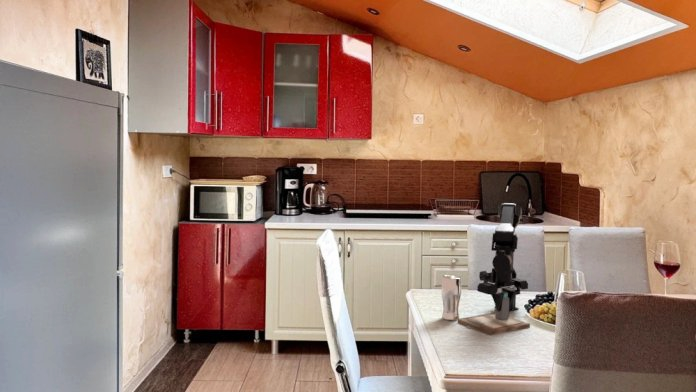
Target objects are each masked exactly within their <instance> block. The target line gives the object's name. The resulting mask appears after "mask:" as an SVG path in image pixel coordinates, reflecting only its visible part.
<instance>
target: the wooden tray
mask: <svg viewBox="0 0 696 392" xmlns="http://www.w3.org/2000/svg"><path fill="white" fill-rule="evenodd" d="M457 323H458V324H461V325H463V326H466V327H469V328H471V329H474V330H477V331H479V332H481V333H484V334H487V335H489V336H492V335H497V334H502V333H507V332H513V331H518V330H523V329H528V328H530V327H531V323H529V322H526V321H523V320H521V319H517V318H515V317H511V316H509V319H507V320H499V319H497V318H495V312H489V313H483V314H479V315H478V314H477V315H473V316H467V317H461V318H460V317H459V319H458V320H457Z"/></svg>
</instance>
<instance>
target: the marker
mask: <svg viewBox="0 0 696 392" xmlns="http://www.w3.org/2000/svg"><path fill="white" fill-rule="evenodd" d="M501 293H504V297H503V302H502V306H501V310H500V311H497V309H496V308H495V307H494V308H495V311H494V313H495V318H497V319H499V320H507V319H509V317H510V311H509V297H508V292H504V291H501Z"/></svg>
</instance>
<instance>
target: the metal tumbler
mask: <svg viewBox="0 0 696 392" xmlns="http://www.w3.org/2000/svg"><path fill="white" fill-rule="evenodd" d="M461 295H462V277H461V276H460V275H457V274H456V275H455V274H445V275H442V277H441V298H442V305H443V309H442V310H443V311H442V315H441V318H442V319H443V320H445V321H450V322H452V321H453V322H454V321H455V322H456V321H458V319H460V312H459V311H460V310H459V306H460V302H461V297H462V296H461Z"/></svg>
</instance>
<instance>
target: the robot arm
mask: <svg viewBox="0 0 696 392" xmlns="http://www.w3.org/2000/svg"><path fill="white" fill-rule="evenodd" d="M497 209H498V210H497V217H498V218H499V221H500V222H499V225H497V226H496V227H495V231H494V232H492V241H491V251H495V254H494V257H493V259H492V260H491V262H492V268H491V272H487V271H486V270H481V271H480V272H479V275H478V277H479V281H482V282H480V283H478V284H477V292H479V293H482V294H485V295H490V296H491V298H492V300H493V302H494V305H495V306H494V308H496V309H497V311H500V310H501V306H502V302H503V297H504V293H501V291H504V292H508V297H509V312H510V311H512V312H513V311H517V310H519V307H517V306H516V300H517V295H521V291H523V290H528V289H529V283H528V281H527V280H526V279H522V278H518V274H517V271H516V269H515V268H514V259H515V258H514V256H515V252H516V250H517V249H518V240H519V237H518V236H517V234H516V232H515V231H516V228H517V227H518V226H519V224H520V219H522V216H523V215H522V214H523V213H522V207H521V206H519V205H517V204H516V203H509V202H508V203H507V202H506V203H505V202H504V203H501V205H498V207H497Z"/></svg>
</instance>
